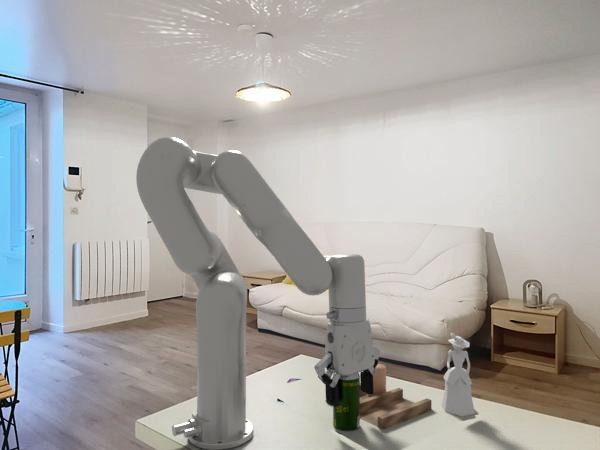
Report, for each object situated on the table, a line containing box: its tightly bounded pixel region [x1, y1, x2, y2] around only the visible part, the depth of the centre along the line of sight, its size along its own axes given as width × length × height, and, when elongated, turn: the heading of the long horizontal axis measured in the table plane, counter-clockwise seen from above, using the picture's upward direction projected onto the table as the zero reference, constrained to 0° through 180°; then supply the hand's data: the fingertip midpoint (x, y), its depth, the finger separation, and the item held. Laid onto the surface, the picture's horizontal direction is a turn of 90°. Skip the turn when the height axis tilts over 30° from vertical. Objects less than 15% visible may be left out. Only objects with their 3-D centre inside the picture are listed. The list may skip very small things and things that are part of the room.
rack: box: [360, 382, 433, 431], centre depth 97 cm, size 16×18×3 cm
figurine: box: [440, 332, 476, 422], centre depth 95 cm, size 7×8×18 cm
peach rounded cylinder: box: [368, 363, 387, 397], centre depth 102 cm, size 4×4×7 cm
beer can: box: [332, 372, 361, 435], centre depth 87 cm, size 5×5×12 cm
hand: (350, 398), depth 87 cm, fingers open, 9 cm apart
